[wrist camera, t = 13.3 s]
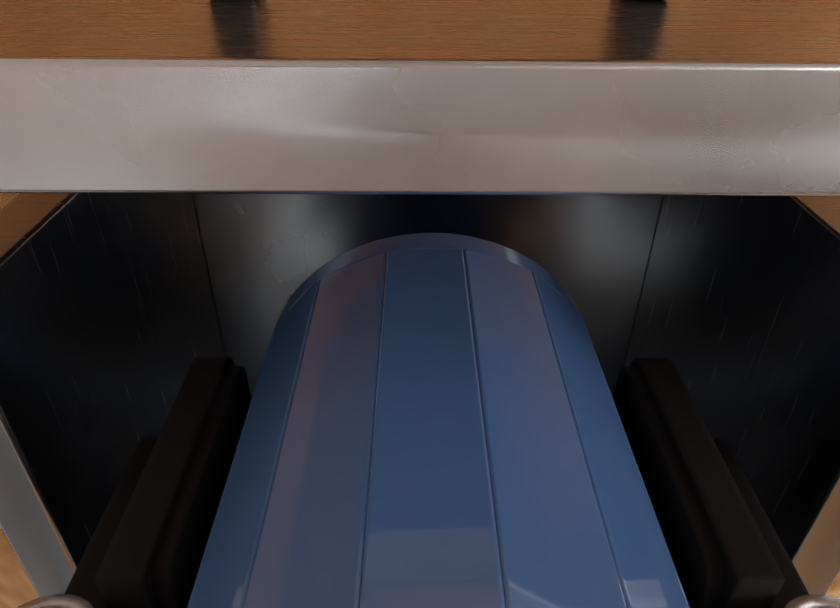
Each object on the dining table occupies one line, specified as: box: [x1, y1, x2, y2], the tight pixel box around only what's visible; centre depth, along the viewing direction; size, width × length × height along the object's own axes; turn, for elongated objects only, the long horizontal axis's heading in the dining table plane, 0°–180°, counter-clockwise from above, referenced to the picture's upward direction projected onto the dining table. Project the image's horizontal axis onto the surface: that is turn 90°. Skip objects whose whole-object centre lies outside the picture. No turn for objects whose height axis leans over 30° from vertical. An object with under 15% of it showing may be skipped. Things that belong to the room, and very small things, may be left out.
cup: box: [187, 233, 691, 608], centre depth 9 cm, size 6×6×6 cm
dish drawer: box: [0, 0, 840, 597], centre depth 12 cm, size 20×14×9 cm, turn 0°
